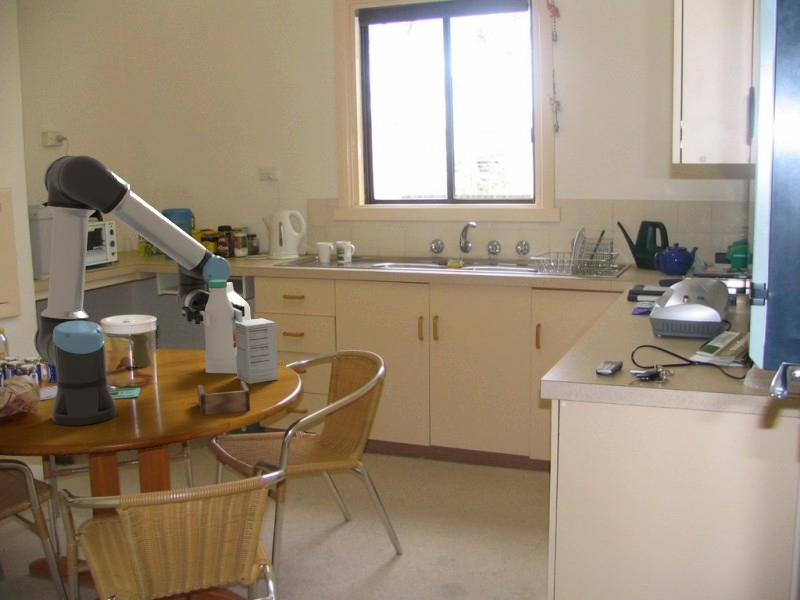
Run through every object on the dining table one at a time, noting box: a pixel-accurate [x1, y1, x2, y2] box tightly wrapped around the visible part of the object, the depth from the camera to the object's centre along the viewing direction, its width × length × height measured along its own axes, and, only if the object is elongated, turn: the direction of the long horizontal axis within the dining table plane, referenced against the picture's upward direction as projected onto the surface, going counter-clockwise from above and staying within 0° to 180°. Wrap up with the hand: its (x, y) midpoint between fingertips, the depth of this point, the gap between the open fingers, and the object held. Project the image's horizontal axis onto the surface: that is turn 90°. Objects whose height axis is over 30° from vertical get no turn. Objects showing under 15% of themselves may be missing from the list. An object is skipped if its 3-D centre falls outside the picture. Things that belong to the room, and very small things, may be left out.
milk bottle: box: [203, 280, 237, 361], centre depth 227 cm, size 8×8×20 cm
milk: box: [204, 281, 252, 374], centre depth 270 cm, size 12×12×26 cm
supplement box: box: [235, 317, 279, 385], centre depth 257 cm, size 10×9×17 cm
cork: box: [130, 333, 153, 368], centre depth 276 cm, size 6×6×11 cm
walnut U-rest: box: [197, 380, 251, 416], centre depth 230 cm, size 12×11×5 cm
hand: (224, 318), depth 222 cm, fingers closed on milk bottle, 8 cm apart
